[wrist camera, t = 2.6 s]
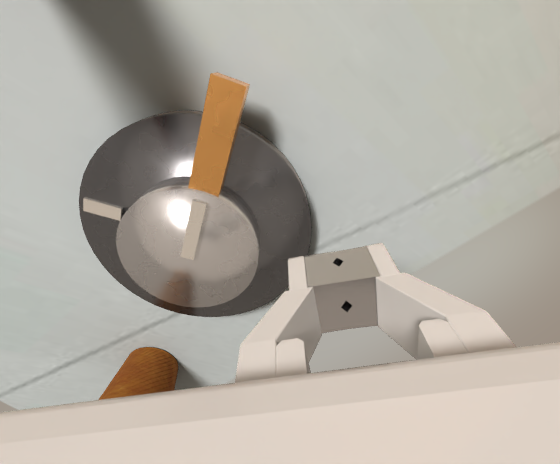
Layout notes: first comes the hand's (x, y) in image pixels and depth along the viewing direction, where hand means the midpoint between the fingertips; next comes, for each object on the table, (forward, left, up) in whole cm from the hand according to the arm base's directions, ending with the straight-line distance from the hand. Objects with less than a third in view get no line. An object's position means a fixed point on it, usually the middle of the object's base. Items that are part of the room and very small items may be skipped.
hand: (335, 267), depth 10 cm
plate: (+6, +10, -17) cm, 21 cm away
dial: (+6, +6, -15) cm, 17 cm away
